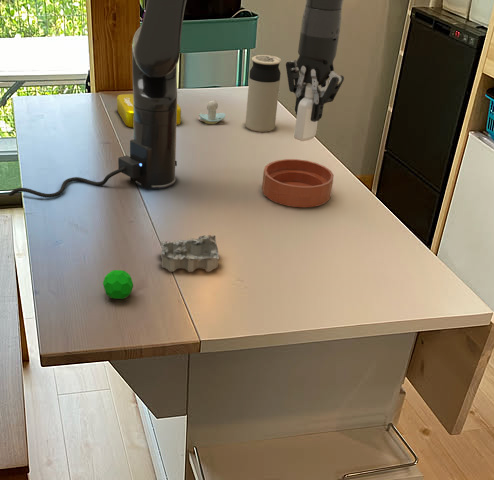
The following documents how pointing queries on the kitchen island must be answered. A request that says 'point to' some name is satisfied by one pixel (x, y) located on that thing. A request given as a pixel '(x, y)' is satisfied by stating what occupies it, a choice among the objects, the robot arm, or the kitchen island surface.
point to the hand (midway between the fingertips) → (307, 117)
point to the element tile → (128, 112)
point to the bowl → (297, 183)
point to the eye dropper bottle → (305, 117)
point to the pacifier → (212, 114)
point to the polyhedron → (118, 284)
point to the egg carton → (190, 254)
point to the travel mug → (263, 93)
